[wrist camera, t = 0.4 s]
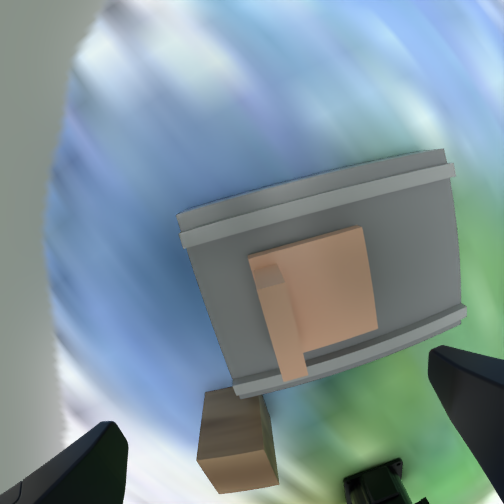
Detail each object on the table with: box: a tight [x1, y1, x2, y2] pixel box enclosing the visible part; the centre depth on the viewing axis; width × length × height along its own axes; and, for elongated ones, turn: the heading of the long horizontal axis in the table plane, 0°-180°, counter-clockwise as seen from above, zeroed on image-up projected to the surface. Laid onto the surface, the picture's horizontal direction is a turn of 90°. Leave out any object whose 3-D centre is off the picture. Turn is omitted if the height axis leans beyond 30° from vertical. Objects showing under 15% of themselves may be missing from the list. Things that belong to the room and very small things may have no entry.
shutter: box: [248, 225, 378, 382], centre depth 15 cm, size 6×6×4 cm
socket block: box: [176, 149, 467, 399], centre depth 19 cm, size 12×16×4 cm
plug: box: [196, 387, 279, 494], centre depth 19 cm, size 4×4×7 cm
